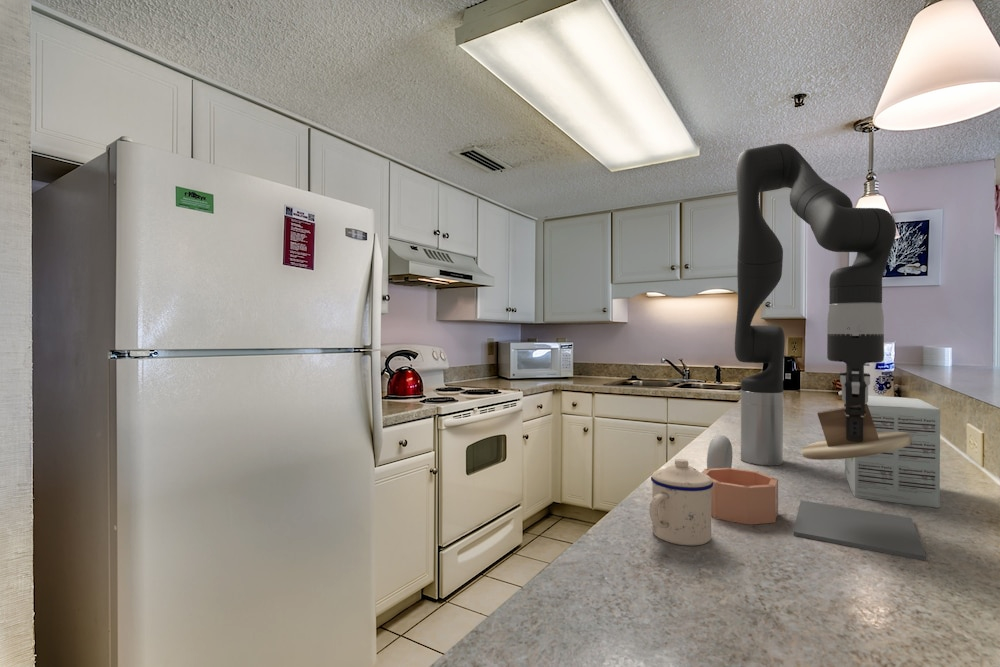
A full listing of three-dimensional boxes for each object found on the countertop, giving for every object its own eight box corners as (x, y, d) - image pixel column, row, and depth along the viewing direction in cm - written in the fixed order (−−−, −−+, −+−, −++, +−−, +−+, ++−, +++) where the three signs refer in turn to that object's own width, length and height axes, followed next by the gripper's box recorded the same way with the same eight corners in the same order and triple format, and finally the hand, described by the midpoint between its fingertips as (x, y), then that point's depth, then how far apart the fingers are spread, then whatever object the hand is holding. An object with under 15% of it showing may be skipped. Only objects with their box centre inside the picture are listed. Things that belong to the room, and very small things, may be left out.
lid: (805, 447, 93) (794, 411, 94) (906, 433, 85) (893, 394, 86) (800, 464, 81) (787, 423, 82) (918, 449, 73) (902, 404, 74)
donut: (722, 489, 103) (722, 439, 103) (704, 486, 105) (704, 437, 105) (734, 478, 111) (734, 432, 111) (717, 475, 113) (717, 430, 113)
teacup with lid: (672, 520, 86) (673, 450, 86) (724, 537, 79) (725, 461, 79) (626, 537, 79) (626, 461, 79) (679, 558, 72) (679, 474, 72)
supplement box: (842, 476, 114) (843, 394, 114) (919, 484, 108) (919, 398, 108) (852, 497, 99) (853, 403, 99) (942, 509, 92) (942, 408, 92)
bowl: (708, 496, 99) (708, 464, 99) (780, 508, 92) (780, 474, 92) (693, 514, 89) (693, 479, 89) (772, 529, 82) (773, 491, 82)
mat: (800, 503, 95) (800, 500, 95) (911, 521, 86) (911, 517, 86) (793, 535, 80) (793, 531, 80) (926, 560, 71) (926, 556, 71)
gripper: (828, 332, 91) (827, 430, 91) (826, 331, 79) (825, 444, 79) (880, 332, 87) (880, 435, 87) (887, 331, 75) (886, 450, 75)
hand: (854, 439), depth 83 cm, fingers closed on lid
